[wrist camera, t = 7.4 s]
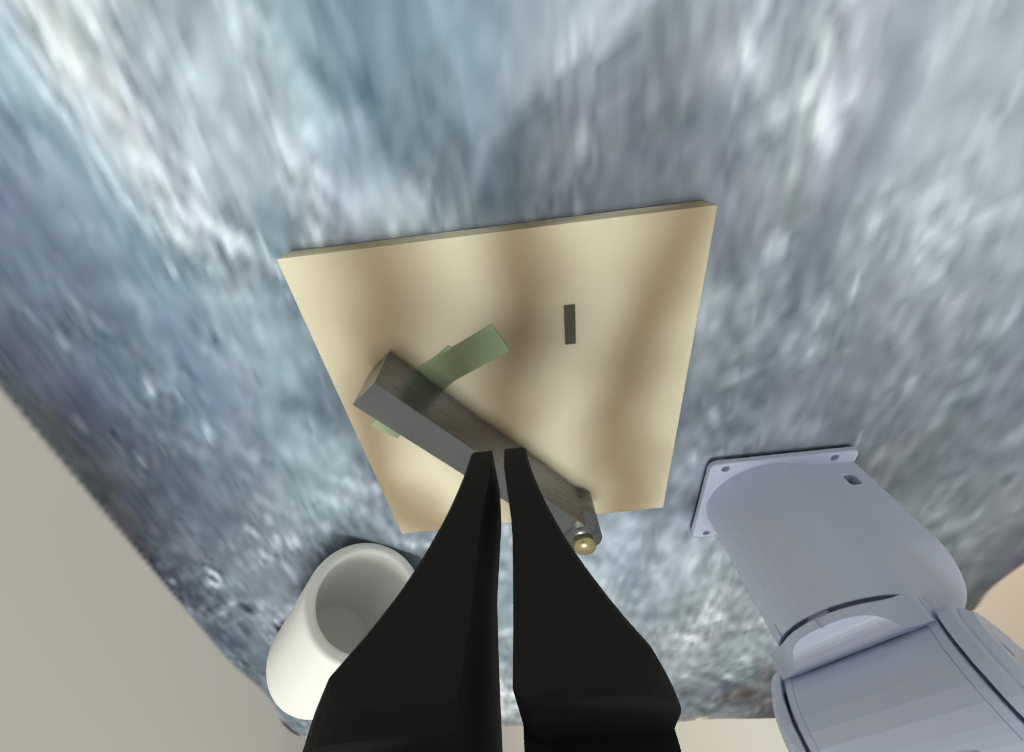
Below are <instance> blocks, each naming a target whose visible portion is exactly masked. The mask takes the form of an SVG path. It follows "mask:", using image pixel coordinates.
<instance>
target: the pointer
mask: <svg viewBox="0 0 1024 752" xmlns="http://www.w3.org/2000/svg"><path fill="white" fill-rule="evenodd" d="M353 405H354V406H355V407H357V408H358V409H360V410H362V411H363V412H365V413H366V414H368V415H370V416H371V417H373V418H374V419H376V420H377V421H379V422H381V423H382V424H384V425H385V426H387V427H389V428H390V429H392V430H393V431H395V432H396V433H398V434H400V435H401V436H403V437H404V438H406V439H408V440H409V441H411V442H412V443H414V444H416V445H417V446H419V447H420V448H422V449H423V450H425V451H427V452H428V453H430V454H431V455H433V456H435V457H436V458H438V459H439V460H441V461H442V462H444V463H446V464H447V465H449V466H450V467H452V468H454V469H455V470H457V471H458V472H460V473H461V474H463V475H465V472H466V469H467V467H468V464H469V460H470V457H471V455H472V454H473V453H474V452H482V451H492V452H493V457H494V463H495V468H496V473H497V478H498V483H499V489H500V498H501V499H503V500H504V501H506V502H507V503H509V500H508V493H507V486H506V479H505V471H504V449H511V448H520V447H519V446H517V445H516V444H514V443H513V442H512V441H510V440H509V439H508V438H506V437H505V436H504V435H502V434H501V433H499V432H498V431H497V430H495V429H494V428H493V427H491V426H490V425H489V424H487V423H486V422H484V421H483V420H482V419H480V418H479V417H478V416H476V415H475V414H474V413H472V412H471V411H469V410H468V409H467V408H465V407H464V406H463V405H461V404H460V403H459V402H457V401H456V400H454V399H453V398H452V397H450V396H449V395H448V394H446V393H445V392H444V391H442V390H441V389H439V388H438V387H437V386H435V385H434V384H433V383H431V382H430V381H429V380H427V379H426V378H425V377H423V376H422V375H420V374H419V373H418V372H416V371H415V370H414V369H412V368H411V367H410V366H408V365H407V364H405V363H404V362H403V361H401V360H400V359H399V358H397V357H396V356H395V355H393V354H392V353H390V352H388V354H387V355H386V356H385V357H384V358H383V359H382V360H381V361H380V362H379V363H378V364H377V365H376V366H375V367H374V368H373V369H372V370H371V371H370V372H369V374H368V376H367V378H366V380H365V382H364V384H363V386H362V388H361V390H360V392H359V393H358V395H357V397H356V399H355V401H354V403H353ZM527 455H528V460H529V463H530V466H531V469H532V472H533V475H534V477H535V480H536V482H537V485H538V487H539V489H540V491H541V493H542V495H543V497H544V500H545V502H546V504H547V506H548V508H549V509H550V511H551V513H552V515H553V517H554V519H555V520H556V522H557V524H558V526H559V527H560V529H561V531H562V532H563V534H564V536H565V537H566V539H567V541H568V542H569V544H570V545H571V547H572V548H573V549H575V552H576V553H578V554H580V555H587V554H590V553H592V552H594V551H595V549H596V545H598V544H599V543H600V542H601V540H602V534H601V530H600V527H599V523H598V519H597V515H596V511H595V508H594V504H593V500H592V496H591V494H590V493H589V492H588V491H586V490H584V489H579V488H574V487H573V486H572V485H570V484H569V483H568V482H566V481H565V480H564V479H562V478H561V477H559V476H558V475H557V474H555V473H554V472H553V471H551V470H550V469H549V468H547V467H546V466H544V465H543V464H542V463H540V462H539V461H538V460H536V459H535V458H534V457H532V456H531V455H529V454H528V453H527Z"/></svg>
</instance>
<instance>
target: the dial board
mask: <svg viewBox="0 0 1024 752" xmlns="http://www.w3.org/2000/svg"><path fill="white" fill-rule="evenodd" d="M716 211H717V205H716V204H713V203H710V202H707V201H704V200H702V201H693V202H685V203H677V204H669V205H661V206H653V207H645V208H637V209H629V210H621V211H613V212H605V213H597V214H588V215H580V216H572V217H564V218H556V219H548V220H540V221H532V222H524V223H516V224H508V225H500V226H492V227H484V228H475V229H467V230H459V231H451V232H443V233H435V234H427V235H419V236H411V237H403V238H395V239H387V240H379V241H370V242H362V243H354V244H346V245H338V246H330V247H322V248H314V249H306V250H298V251H290V252H288V253H287V254H285V255H283V256H282V257H280V258H278V259H277V261H278V263H279V265H280V267H281V270H282V272H283V274H284V276H285V278H286V281H287V283H288V285H289V287H290V289H291V292H292V294H293V296H294V298H295V300H296V303H297V305H298V307H299V309H300V311H301V313H302V316H303V318H304V320H305V322H306V324H307V327H308V329H309V331H310V333H311V335H312V338H313V340H314V342H315V344H316V346H317V349H318V351H319V353H320V355H321V357H322V360H323V362H324V364H325V366H326V368H327V370H328V373H329V375H330V377H331V379H332V381H333V384H334V386H335V388H336V390H337V392H338V395H339V397H340V399H341V401H342V403H343V406H344V408H345V410H346V412H347V414H348V417H349V419H350V421H351V423H352V425H353V427H354V430H355V432H356V434H357V436H358V438H359V441H360V443H361V445H362V447H363V449H364V452H365V454H366V456H367V458H368V460H369V463H370V465H371V467H372V469H373V471H374V473H375V476H376V478H377V480H378V482H379V484H380V487H381V489H382V491H383V493H384V495H385V498H386V500H387V502H388V504H389V506H390V509H391V511H392V513H393V515H394V517H395V520H396V522H397V524H398V526H399V528H400V530H401V533H402V534H403V533H413V532H423V531H433V530H439V529H440V527H441V525H442V523H443V521H444V519H445V517H446V516H447V514H448V512H449V510H450V507H451V505H452V503H453V501H454V499H455V496H456V494H457V492H458V490H459V487H460V485H461V482H462V480H463V478H464V475H463V474H461V473H460V472H458V471H457V470H455V469H454V468H452V467H450V466H449V465H447V464H446V463H444V462H442V461H441V460H439V459H438V458H436V457H435V456H433V455H431V454H430V453H428V452H427V451H425V450H423V449H422V448H420V447H419V446H417V445H416V444H414V443H412V442H411V441H409V440H408V439H406V438H404V437H403V436H401V435H400V434H398V433H396V432H395V431H393V430H392V429H390V428H389V427H387V426H385V425H384V424H382V423H381V422H379V421H377V420H376V419H374V418H373V417H371V416H370V415H368V414H366V413H365V412H363V411H362V410H360V409H358V408H357V407H355V406H354V405H353V403H354V401H355V399H356V397H357V395H358V393H359V392H360V390H361V388H362V386H363V384H364V382H365V380H366V378H367V376H368V374H369V372H370V371H371V370H372V369H373V368H374V367H375V366H376V365H377V364H378V363H379V362H380V361H381V360H382V359H383V358H384V357H385V356H386V355H387V354H388V352H390V353H392V354H393V355H395V356H396V357H397V358H399V359H400V360H401V361H403V362H404V363H405V364H407V365H408V366H410V367H411V368H412V369H414V370H415V371H416V372H418V373H419V374H420V375H422V376H423V377H425V378H426V379H427V380H429V381H430V382H431V383H433V384H434V385H435V386H437V387H438V388H439V389H441V390H442V391H444V392H445V393H446V394H448V395H449V396H450V397H452V398H453V399H454V400H456V401H457V402H459V403H460V404H461V405H463V406H464V407H465V408H467V409H468V410H469V411H471V412H472V413H474V414H475V415H476V416H478V417H479V418H480V419H482V420H483V421H484V422H486V423H487V424H489V425H490V426H491V427H493V428H494V429H495V430H497V431H498V432H499V433H501V434H502V435H504V436H505V437H506V438H508V439H509V440H510V441H512V442H513V443H514V444H516V445H517V446H519V447H523V448H525V449H527V453H528V454H529V455H531V456H532V457H534V458H535V459H536V460H538V461H539V462H540V463H542V464H543V465H544V466H546V467H547V468H549V469H550V470H551V471H553V472H554V473H555V474H557V475H558V476H559V477H561V478H562V479H564V480H565V481H566V482H568V483H569V484H570V485H572V486H573V487H574V488H579V489H584V490H586V491H588V492H589V493H590V494H591V496H592V500H593V504H594V508H595V511H596V514H602V513H612V512H622V511H632V510H642V509H652V508H662V507H663V504H664V499H665V493H666V488H667V482H668V477H669V471H670V466H671V460H672V455H673V449H674V443H675V438H676V432H677V427H678V421H679V416H680V410H681V405H682V399H683V394H684V388H685V383H686V377H687V371H688V366H689V360H690V355H691V349H692V344H693V338H694V333H695V327H696V322H697V316H698V311H699V305H700V300H701V294H702V288H703V283H704V277H705V272H706V266H707V261H708V255H709V250H710V244H711V239H712V233H713V228H714V222H715V216H716ZM500 500H501V524H502V523H512V522H511V515H510V507H509V503H507V502H506V501H504V500H503V499H501V498H500Z"/></svg>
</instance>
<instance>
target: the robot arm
mask: <svg viewBox="0 0 1024 752" xmlns="http://www.w3.org/2000/svg"><path fill="white" fill-rule="evenodd" d="M857 456H858V451H857V450H856V449H855V448H853V447H842V448H832V449H823V450H813V451H803V452H794V453H784V454H774V455H765V456H755V457H745V458H736V459H726V460H717V461H713V462H711V463H710V464H709V465H708V467H707V471H706V474H705V478H704V482H703V486H702V490H701V494H700V497H699V501H698V505H697V509H696V513H695V517H694V521H693V524H692V528H691V532H692V535H693V536H694V537H706V536H716V535H718V537H719V539H720V540H721V542H722V544H723V546H724V548H725V550H726V551H727V553H728V555H729V557H730V559H731V561H732V562H733V564H734V566H735V568H736V570H737V571H738V573H739V575H740V577H741V579H742V581H743V582H744V584H745V586H746V588H747V590H748V591H749V593H750V595H751V597H752V599H753V601H754V602H755V604H756V606H757V608H758V610H759V611H760V613H761V615H762V617H763V619H764V621H765V622H766V624H767V626H768V628H769V630H770V631H771V633H772V635H773V637H774V639H775V641H776V642H777V644H778V646H779V647H778V648H776V649H774V650H772V651H770V652H769V655H770V656H771V658H772V660H773V662H774V664H775V666H776V668H777V670H778V672H777V673H776V674H775V675H774V677H773V678H772V684H771V688H772V698H773V709H774V713H775V717H776V721H777V724H778V726H779V729H780V732H781V735H782V737H783V740H784V742H785V744H786V746H787V748H788V751H789V752H1024V650H1023V649H1022V648H1020V647H1019V646H1018V645H1017V644H1016V643H1015V642H1014V641H1012V640H1011V639H1010V638H1009V637H1008V636H1007V635H1006V634H1004V633H1003V632H1002V631H1001V630H1000V629H998V628H997V627H996V626H995V625H993V624H992V623H991V622H990V621H988V620H987V619H986V618H984V617H983V616H981V615H980V614H978V613H975V612H972V611H969V610H966V609H965V606H966V600H967V591H966V585H965V582H964V579H963V577H962V574H961V572H960V570H959V568H958V566H957V565H956V563H955V561H954V559H953V558H952V556H951V555H950V553H949V552H948V551H947V549H946V548H945V547H944V546H943V545H942V543H941V542H940V541H939V540H938V539H937V538H936V537H935V536H934V535H933V534H932V533H931V532H930V531H929V530H928V529H927V528H925V527H924V526H923V525H922V524H921V523H920V522H919V521H918V520H917V519H916V518H915V517H914V516H912V515H911V514H910V513H909V512H908V511H907V510H906V509H905V508H904V507H903V506H902V505H901V504H899V503H898V502H897V501H896V500H895V499H894V498H893V497H892V496H891V495H890V494H889V493H888V492H886V491H885V490H884V489H883V488H882V487H881V486H880V485H879V484H878V483H877V482H876V481H875V480H873V479H872V478H871V477H870V476H869V475H868V474H867V473H866V472H865V471H864V470H863V469H862V468H860V467H859V466H858V465H857V464H856V463H855V462H854V461H855V459H856V458H857ZM504 471H505V479H506V486H507V493H508V500H509V507H510V515H511V522H512V534H513V691H514V694H515V698H516V701H517V705H518V708H519V711H520V715H521V718H522V722H523V727H524V747H525V752H681V749H680V745H679V742H678V739H677V736H676V732H675V729H674V728H675V726H676V723H677V721H678V719H679V716H680V714H681V707H680V703H679V701H678V698H677V695H676V693H675V691H674V688H673V686H672V684H671V682H670V680H669V678H668V676H667V674H666V672H665V670H664V669H663V667H662V665H661V663H660V662H659V660H658V658H657V656H656V655H655V653H654V651H653V649H652V648H651V646H650V645H649V644H648V643H647V642H646V641H645V639H644V638H643V637H642V636H641V635H640V634H639V633H638V632H637V631H636V629H635V628H634V627H633V626H632V625H631V624H630V623H629V621H628V620H627V619H626V618H625V617H624V616H623V615H622V613H621V612H620V611H619V610H618V608H617V607H616V606H615V605H614V604H613V602H612V601H611V600H610V599H609V598H608V596H607V595H606V594H605V592H604V591H603V590H602V588H601V587H600V586H599V585H598V583H597V582H596V581H595V579H594V578H593V577H592V575H591V574H590V573H589V571H588V570H587V569H586V567H585V566H584V564H583V563H582V562H581V560H580V559H579V557H578V556H577V554H576V553H575V551H574V550H573V548H572V547H571V545H570V544H569V542H568V541H567V539H566V537H565V536H564V534H563V532H562V531H561V529H560V527H559V526H558V524H557V522H556V520H555V519H554V517H553V515H552V513H551V511H550V509H549V508H548V506H547V504H546V502H545V500H544V497H543V495H542V493H541V491H540V489H539V487H538V485H537V482H536V480H535V477H534V475H533V472H532V469H531V466H530V463H529V460H528V455H527V449H525V448H523V447H520V448H511V449H504ZM500 540H501V500H500V489H499V483H498V478H497V473H496V468H495V463H494V457H493V452H492V451H482V452H474V453H473V454H472V455H471V457H470V460H469V464H468V467H467V469H466V472H465V475H464V478H463V480H462V482H461V485H460V487H459V490H458V492H457V494H456V496H455V499H454V501H453V503H452V505H451V507H450V510H449V512H448V514H447V516H446V517H445V519H444V521H443V523H442V525H441V527H440V529H439V531H438V533H437V535H436V536H435V538H434V540H433V542H432V543H431V545H430V547H429V549H428V550H427V552H426V554H425V555H424V557H423V558H422V560H421V562H420V563H419V565H418V566H417V568H416V569H415V571H414V572H413V574H412V575H411V577H410V578H409V580H408V581H407V583H406V584H405V586H404V587H403V588H402V590H401V591H400V593H399V594H398V595H397V597H396V598H395V599H394V601H393V602H392V603H391V605H390V606H389V607H388V608H387V610H386V611H385V612H384V614H383V615H382V616H381V617H380V619H379V620H378V621H377V623H376V624H375V625H374V626H373V628H372V629H371V630H370V631H369V633H368V634H367V635H366V636H365V637H364V639H363V640H362V641H361V642H360V643H359V644H358V646H357V647H356V648H355V649H354V650H353V651H352V652H351V653H350V655H349V656H348V657H347V658H346V659H345V660H344V661H343V663H342V664H341V665H340V666H339V667H338V668H337V669H336V671H335V672H334V673H333V674H332V675H331V676H330V678H329V680H328V682H327V684H326V687H325V689H324V691H323V694H322V696H321V699H320V701H319V704H318V706H317V708H316V711H315V714H314V717H313V720H312V723H311V727H310V730H309V733H308V736H307V739H306V743H305V746H304V749H303V752H502V730H501V707H500V682H499V653H498V619H497V591H498V574H499V557H500Z"/></svg>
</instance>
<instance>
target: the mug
mask: <svg viewBox="0 0 1024 752" xmlns="http://www.w3.org/2000/svg"><path fill="white" fill-rule="evenodd" d="M413 572H414V569H413V568H412V566H411V565H410V564H409V562H408V561H407V560H406V559H405V558H404V557H403V556H402V555H401V554H399V553H398V552H396V551H395V550H393V549H391V548H389V547H387V546H384V545H380V544H376V543H358V544H353V545H349V546H347V547H344V548H342V549H340V550H338V551H336V552H334V553H333V554H331V555H330V556H329V557H327V558H326V559H325V560H324V561H323V562H322V563H321V564H320V565H319V566H318V567H317V569H316V570H315V571H314V573H313V574H312V576H311V578H310V579H309V581H308V583H307V584H306V586H305V588H304V589H303V591H302V593H301V595H300V596H299V598H298V600H297V601H296V603H295V605H294V606H293V608H292V610H291V612H290V613H289V615H288V617H287V618H286V620H285V622H284V623H283V625H282V627H281V629H280V630H279V632H278V634H277V635H276V637H275V639H274V641H273V643H272V646H271V648H270V652H269V655H268V660H267V667H266V677H267V684H268V688H269V691H270V694H271V696H272V698H273V700H274V701H275V703H276V704H277V705H278V706H279V707H280V709H282V710H283V711H284V712H286V713H287V714H289V715H291V716H293V717H296V718H299V719H305V720H313V717H314V714H315V711H316V708H317V706H318V704H319V701H320V699H321V696H322V694H323V691H324V689H325V687H326V684H327V682H328V680H329V678H330V676H331V675H332V674H333V673H334V672H335V671H336V669H337V668H338V667H339V666H340V665H341V664H342V663H343V661H344V660H345V659H346V658H347V657H348V656H349V655H350V653H351V652H352V651H353V650H354V649H355V648H356V647H357V646H358V644H359V643H360V642H361V641H362V640H363V639H364V637H365V636H366V635H367V634H368V633H369V631H370V630H371V629H372V628H373V626H374V625H375V624H376V623H377V621H378V620H379V619H380V617H381V616H382V615H383V614H384V612H385V611H386V610H387V608H388V607H389V606H390V605H391V603H392V602H393V601H394V599H395V598H396V597H397V595H398V594H399V593H400V591H401V590H402V588H403V587H404V586H405V584H406V583H407V581H408V580H409V578H410V577H411V575H412V574H413Z"/></svg>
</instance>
